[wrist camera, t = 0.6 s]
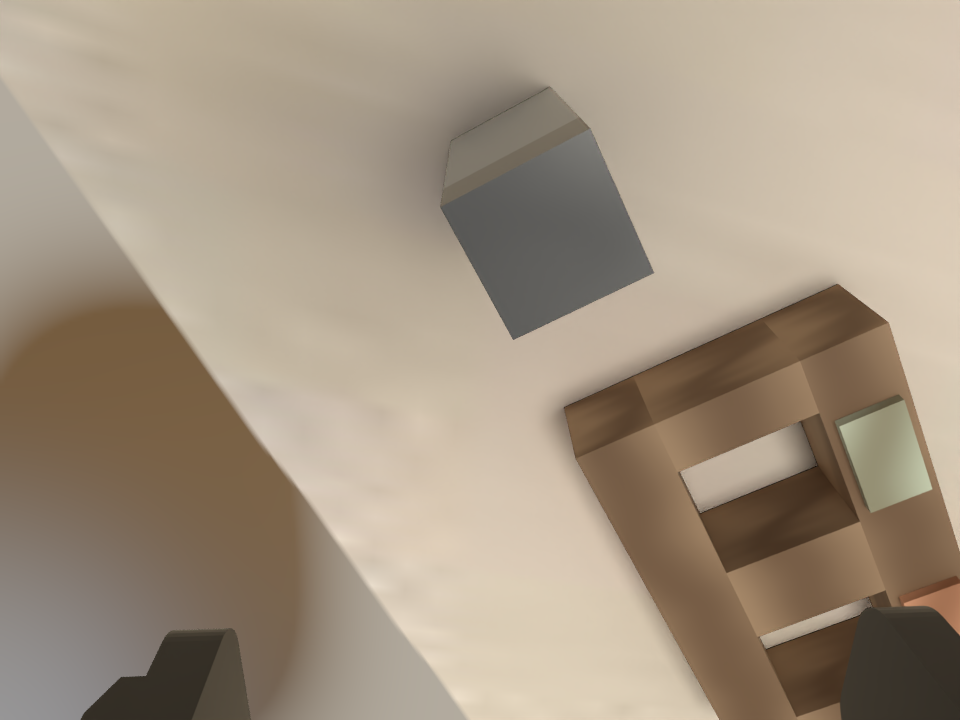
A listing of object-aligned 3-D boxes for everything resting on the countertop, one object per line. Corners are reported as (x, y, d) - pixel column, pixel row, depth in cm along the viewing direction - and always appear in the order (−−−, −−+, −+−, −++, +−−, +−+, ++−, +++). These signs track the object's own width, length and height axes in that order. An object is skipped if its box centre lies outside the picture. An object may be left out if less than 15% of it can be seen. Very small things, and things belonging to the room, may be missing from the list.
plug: (550, 86, 27) (590, 128, 18) (595, 187, 28) (654, 273, 19) (451, 140, 27) (440, 207, 18) (500, 235, 29) (513, 339, 20)
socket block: (838, 284, 30) (894, 326, 26) (950, 619, 37) (1006, 692, 33) (564, 407, 32) (577, 464, 28) (722, 700, 40) (749, 777, 36)
